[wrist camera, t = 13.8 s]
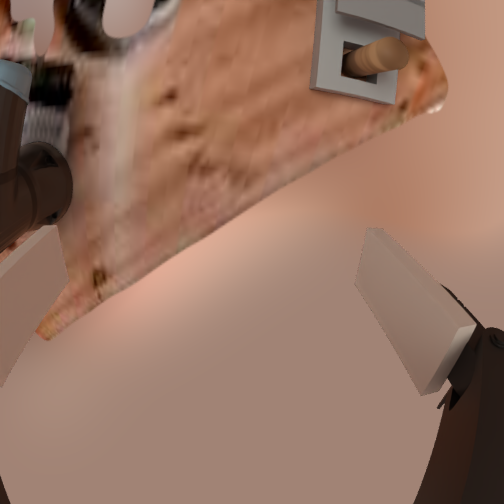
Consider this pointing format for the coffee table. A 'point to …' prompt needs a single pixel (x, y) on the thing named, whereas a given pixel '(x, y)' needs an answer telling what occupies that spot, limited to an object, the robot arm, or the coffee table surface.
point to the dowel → (375, 58)
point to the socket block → (360, 42)
